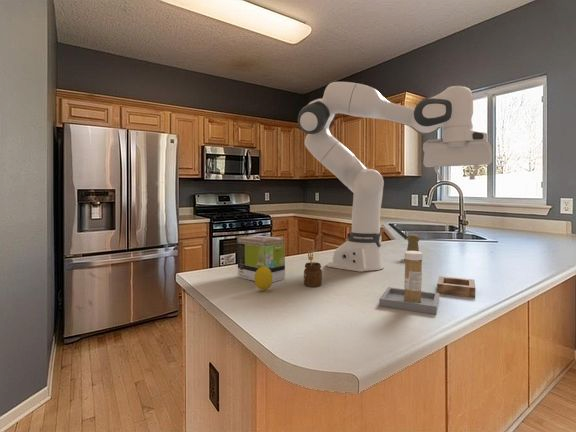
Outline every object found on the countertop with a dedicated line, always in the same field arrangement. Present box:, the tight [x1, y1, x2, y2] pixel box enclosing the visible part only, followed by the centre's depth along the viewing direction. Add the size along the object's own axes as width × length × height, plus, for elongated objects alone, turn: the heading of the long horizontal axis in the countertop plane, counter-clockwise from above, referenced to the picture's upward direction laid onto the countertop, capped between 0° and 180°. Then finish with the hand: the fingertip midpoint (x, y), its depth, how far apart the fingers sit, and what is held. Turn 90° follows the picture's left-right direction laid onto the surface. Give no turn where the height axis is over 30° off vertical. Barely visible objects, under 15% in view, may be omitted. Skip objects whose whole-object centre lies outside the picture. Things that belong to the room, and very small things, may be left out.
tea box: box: [236, 235, 286, 283], centre depth 119 cm, size 15×10×15 cm
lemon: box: [254, 266, 273, 292], centre depth 103 cm, size 6×6×8 cm
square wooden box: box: [436, 275, 476, 298], centre depth 102 cm, size 10×10×3 cm
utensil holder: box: [303, 250, 323, 288], centre depth 110 cm, size 6×6×12 cm
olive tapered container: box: [406, 233, 420, 252], centre depth 150 cm, size 6×6×11 cm
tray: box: [378, 286, 440, 315], centre depth 91 cm, size 14×12×2 cm
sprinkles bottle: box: [403, 250, 424, 303], centre depth 91 cm, size 5×5×13 cm
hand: (455, 179), depth 111 cm, fingers open, 8 cm apart
